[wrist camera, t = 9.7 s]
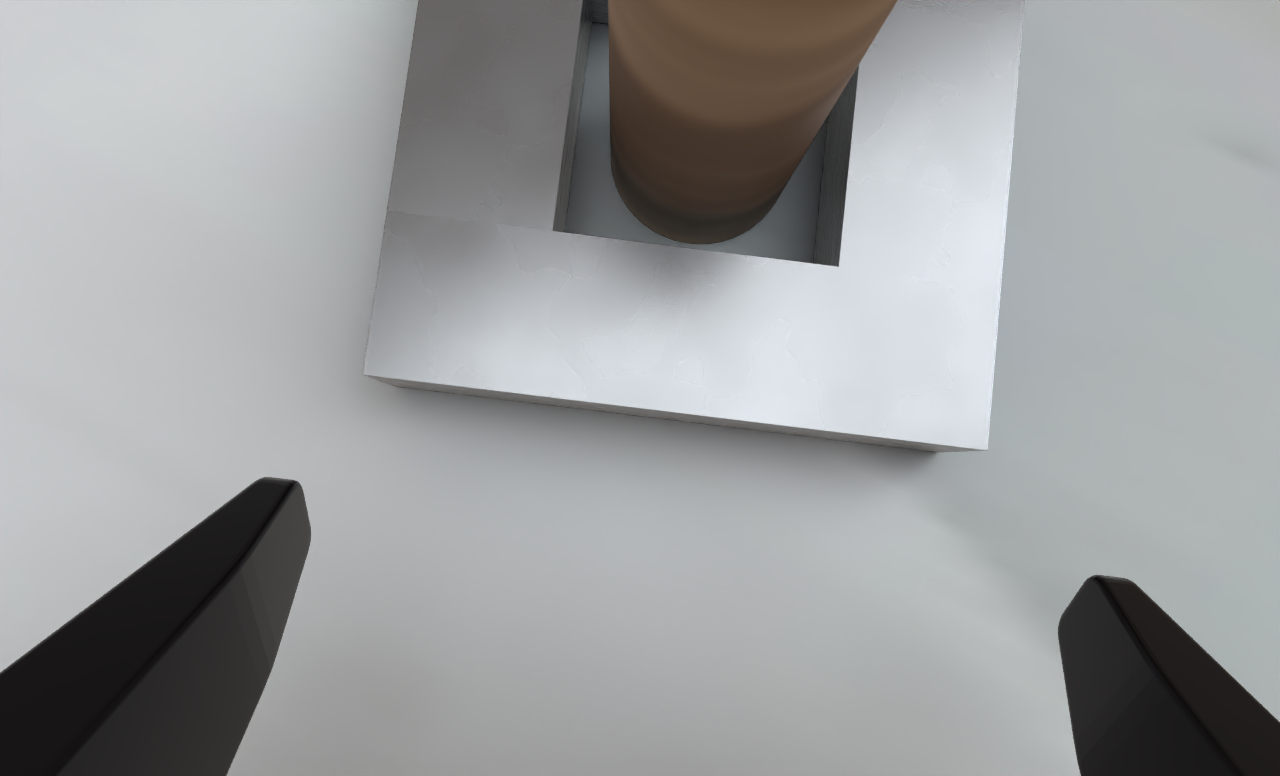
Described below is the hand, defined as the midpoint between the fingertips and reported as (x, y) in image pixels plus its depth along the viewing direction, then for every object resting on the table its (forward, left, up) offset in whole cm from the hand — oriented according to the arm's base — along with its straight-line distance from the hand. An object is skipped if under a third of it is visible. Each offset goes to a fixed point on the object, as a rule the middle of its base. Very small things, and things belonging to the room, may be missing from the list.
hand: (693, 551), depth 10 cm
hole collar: (+8, +1, -9) cm, 12 cm away
